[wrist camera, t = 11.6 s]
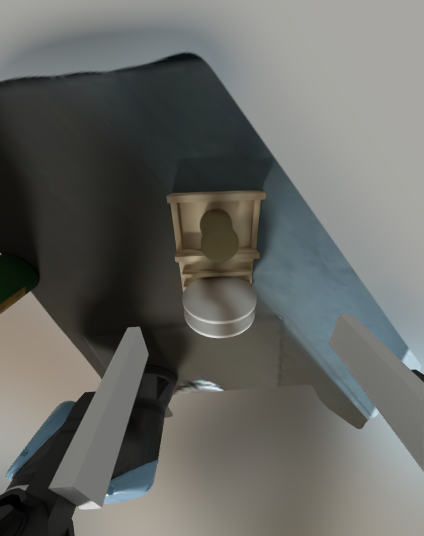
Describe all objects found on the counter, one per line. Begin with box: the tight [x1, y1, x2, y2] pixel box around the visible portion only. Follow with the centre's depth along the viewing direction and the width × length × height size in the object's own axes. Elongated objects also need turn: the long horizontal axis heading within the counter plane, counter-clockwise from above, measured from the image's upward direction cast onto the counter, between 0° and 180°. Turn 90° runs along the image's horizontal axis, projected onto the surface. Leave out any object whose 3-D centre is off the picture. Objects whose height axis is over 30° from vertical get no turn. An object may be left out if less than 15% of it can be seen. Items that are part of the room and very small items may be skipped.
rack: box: [166, 190, 266, 338], centre depth 30 cm, size 15×22×14 cm
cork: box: [200, 209, 239, 262], centre depth 28 cm, size 6×6×11 cm
